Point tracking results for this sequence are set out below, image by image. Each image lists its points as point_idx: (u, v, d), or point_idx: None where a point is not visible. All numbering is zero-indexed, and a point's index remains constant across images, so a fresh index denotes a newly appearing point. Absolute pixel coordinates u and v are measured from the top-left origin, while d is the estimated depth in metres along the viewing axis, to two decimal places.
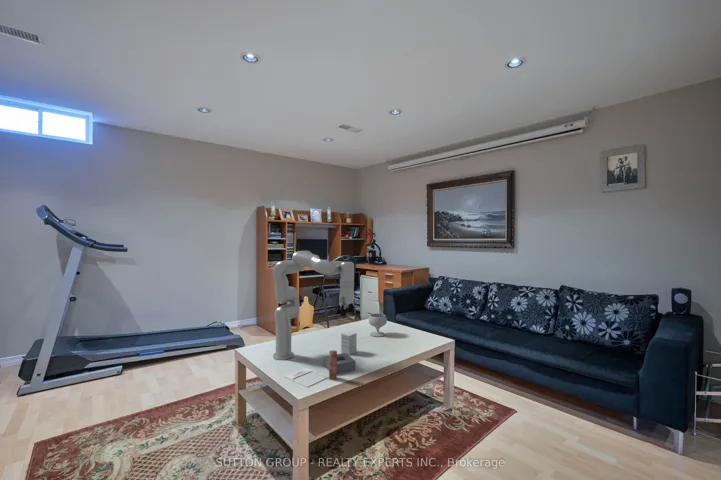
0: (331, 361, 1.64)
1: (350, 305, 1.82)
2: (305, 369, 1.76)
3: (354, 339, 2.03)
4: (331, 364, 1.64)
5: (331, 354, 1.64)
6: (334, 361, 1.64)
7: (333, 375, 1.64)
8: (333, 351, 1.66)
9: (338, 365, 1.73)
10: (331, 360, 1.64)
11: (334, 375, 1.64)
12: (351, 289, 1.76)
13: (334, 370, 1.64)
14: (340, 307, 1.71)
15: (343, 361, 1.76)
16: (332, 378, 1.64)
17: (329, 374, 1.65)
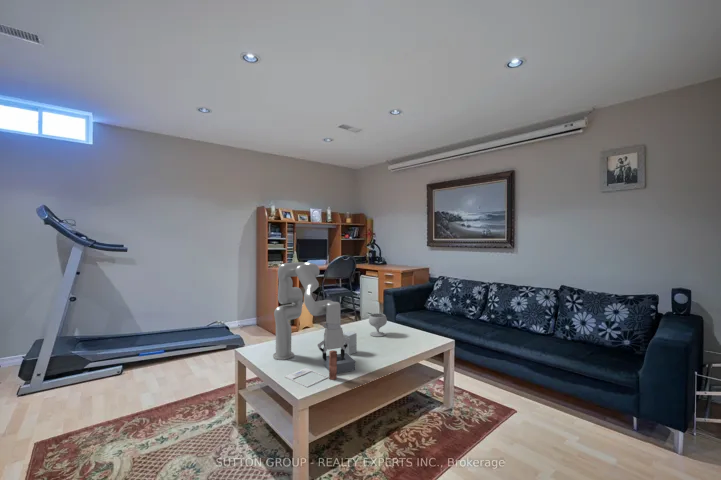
0: (331, 361, 1.64)
1: None
2: (305, 369, 1.76)
3: (354, 339, 2.03)
4: (331, 364, 1.64)
5: (331, 354, 1.64)
6: (334, 361, 1.64)
7: (333, 375, 1.64)
8: (333, 351, 1.66)
9: (338, 365, 1.73)
10: (331, 360, 1.64)
11: (334, 375, 1.64)
12: None
13: (334, 370, 1.64)
14: None
15: (343, 361, 1.76)
16: (332, 378, 1.64)
17: (329, 374, 1.65)
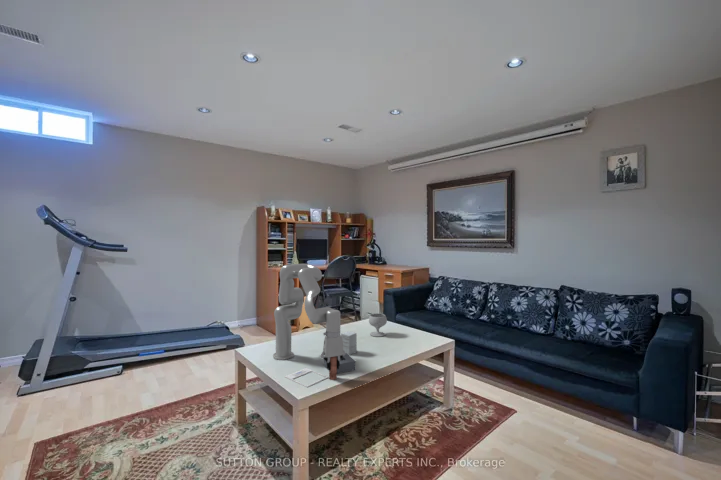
0: (331, 361, 1.64)
1: (329, 360, 1.65)
2: (305, 369, 1.76)
3: (354, 339, 2.03)
4: (331, 364, 1.64)
5: None
6: (334, 361, 1.64)
7: (333, 375, 1.64)
8: None
9: None
10: (331, 360, 1.64)
11: (334, 375, 1.64)
12: None
13: (334, 370, 1.64)
14: None
15: (343, 361, 1.76)
16: (332, 378, 1.64)
17: (329, 374, 1.65)
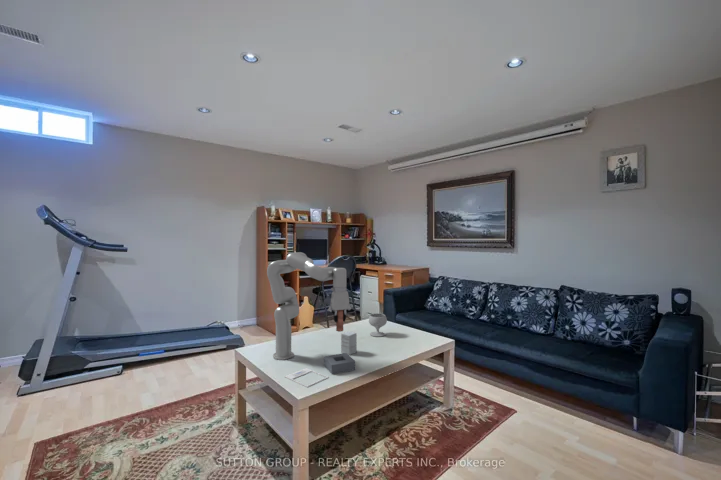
0: (338, 314, 1.78)
1: (336, 313, 1.79)
2: (305, 369, 1.76)
3: (354, 339, 2.03)
4: (338, 317, 1.78)
5: None
6: (341, 314, 1.78)
7: (340, 327, 1.78)
8: None
9: (338, 365, 1.73)
10: (338, 313, 1.78)
11: (341, 327, 1.78)
12: None
13: (341, 322, 1.78)
14: None
15: (343, 361, 1.76)
16: (339, 330, 1.78)
17: (336, 326, 1.79)
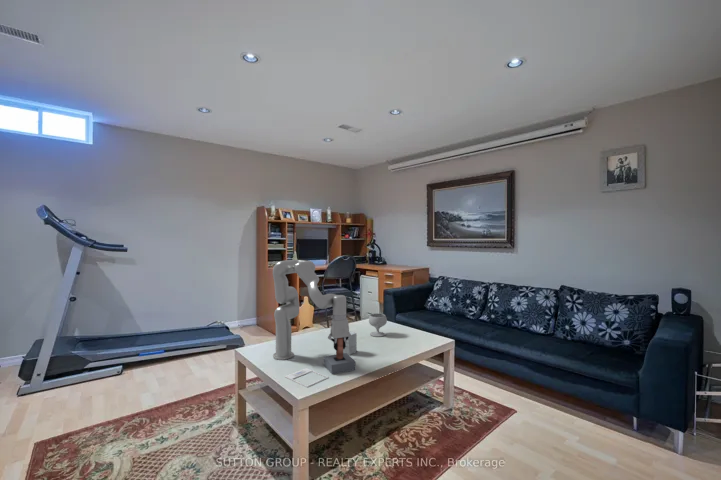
0: (338, 342, 1.78)
1: (336, 341, 1.79)
2: (305, 369, 1.76)
3: (354, 339, 2.03)
4: (338, 345, 1.78)
5: None
6: (341, 342, 1.78)
7: (340, 355, 1.78)
8: None
9: (338, 365, 1.73)
10: (338, 341, 1.78)
11: (341, 355, 1.78)
12: None
13: (341, 350, 1.78)
14: None
15: (343, 361, 1.76)
16: (339, 358, 1.78)
17: (336, 354, 1.79)
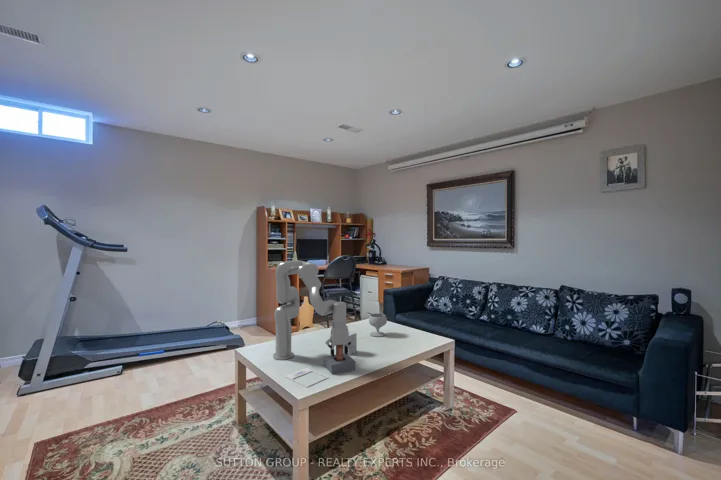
0: (338, 351, 1.78)
1: None
2: (305, 369, 1.76)
3: (354, 339, 2.03)
4: (338, 354, 1.78)
5: (338, 345, 1.78)
6: (340, 351, 1.78)
7: None
8: None
9: (338, 365, 1.73)
10: (338, 350, 1.78)
11: None
12: None
13: (340, 360, 1.78)
14: (349, 344, 1.82)
15: (343, 361, 1.76)
16: None
17: None
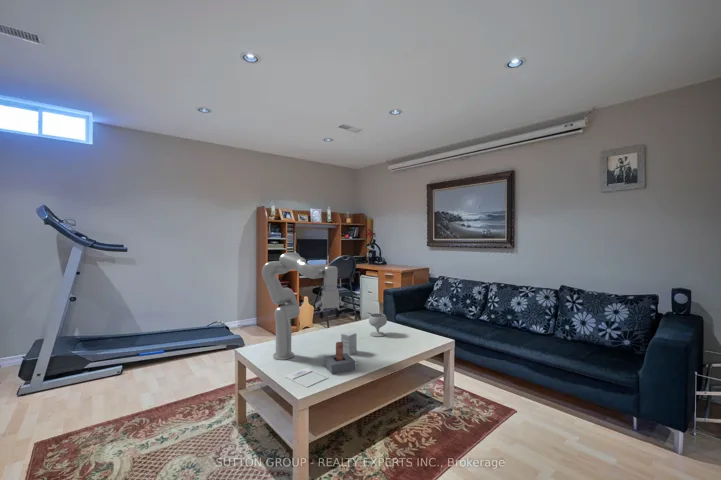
0: (337, 351, 1.78)
1: None
2: (305, 369, 1.76)
3: (354, 339, 2.03)
4: (337, 354, 1.78)
5: (337, 345, 1.78)
6: (340, 351, 1.78)
7: None
8: (340, 342, 1.80)
9: (338, 365, 1.73)
10: (337, 350, 1.78)
11: None
12: None
13: (340, 360, 1.78)
14: None
15: (343, 361, 1.76)
16: None
17: None
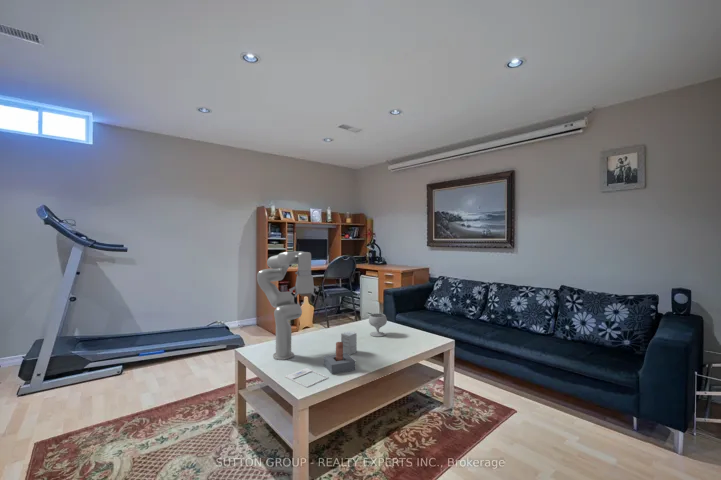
0: (338, 351, 1.78)
1: (296, 296, 1.80)
2: (305, 369, 1.76)
3: (354, 339, 2.03)
4: (338, 354, 1.78)
5: (338, 345, 1.78)
6: (340, 351, 1.78)
7: None
8: (340, 342, 1.80)
9: (338, 365, 1.73)
10: (338, 350, 1.78)
11: None
12: None
13: (340, 360, 1.78)
14: (316, 293, 1.84)
15: (343, 361, 1.76)
16: None
17: None
